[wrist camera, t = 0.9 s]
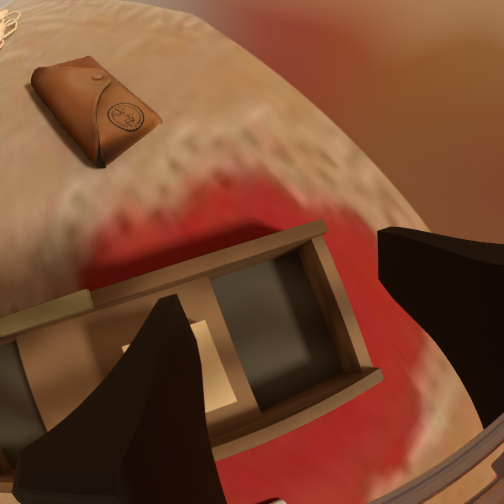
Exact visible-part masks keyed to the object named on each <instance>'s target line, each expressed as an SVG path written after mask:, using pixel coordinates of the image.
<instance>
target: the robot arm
mask: <svg viewBox="0 0 504 504" xmlns="http://www.w3.org/2000/svg"><path fill="white" fill-rule="evenodd" d="M377 235H378V279H379V280H380V282H381V283H382V285H383V286H384V287H385V289H386V290H387V291H388V293H389V294H390V295H391V297H392V298H393V299H394V300H395V301H396V302H397V303H398V304H399V305H400V306H401V307H402V308H403V309H404V310H405V311H406V312H407V313H408V314H409V315H410V316H411V317H412V318H413V319H414V320H415V321H416V322H417V323H418V324H419V325H420V326H421V327H422V328H423V329H424V330H425V331H426V332H427V333H428V334H429V335H430V337H431V338H432V339H433V340H434V341H435V342H436V344H437V345H438V346H439V348H440V349H441V350H442V352H443V353H444V355H445V356H446V357H447V359H448V360H449V362H450V363H451V365H452V366H453V368H454V370H455V371H456V373H457V374H458V376H459V377H460V379H461V381H462V383H463V385H464V386H465V388H466V390H467V392H468V394H469V396H470V398H471V400H472V402H473V404H474V406H475V409H476V411H477V413H478V415H479V418H480V420H481V423H482V426H483V429H484V430H483V431H482V432H481V433H480V434H478V435H477V436H476V437H475V438H473V439H472V440H471V441H470V442H468V443H467V444H466V445H464V446H463V447H462V448H460V449H459V450H458V451H456V452H455V453H454V454H452V455H451V456H449V457H448V458H446V459H445V460H443V461H442V462H441V463H439V464H438V465H436V466H434V467H433V468H431V469H430V470H428V471H427V472H425V473H423V474H422V475H420V476H418V477H417V478H415V479H413V480H412V481H410V482H408V483H406V484H405V485H403V486H401V487H399V488H397V489H395V490H394V491H392V492H390V493H388V494H386V495H384V496H382V497H380V498H378V499H376V500H374V501H371V502H369V503H367V504H423V503H424V502H426V501H427V500H429V499H431V498H432V497H434V496H435V495H437V494H438V493H440V492H441V491H443V490H444V489H446V488H447V487H449V486H450V485H452V484H453V483H454V482H456V481H457V480H459V479H460V478H461V477H463V476H464V475H465V474H467V473H468V472H469V471H471V470H472V469H473V468H474V467H476V466H477V465H478V464H479V463H480V462H482V461H483V460H484V459H485V458H486V457H488V456H489V455H490V454H491V453H492V452H493V451H495V450H496V449H497V448H498V447H499V446H500V445H501V444H502V443H503V442H504V244H495V243H485V242H477V241H470V240H464V239H459V238H453V237H448V236H443V235H439V234H434V233H429V232H424V231H419V230H414V229H409V228H402V227H388V228H385V229H382V230H379V231H377ZM491 467H492V469H493V470H494V471H495V473H496V474H497V477H496V478H495V479H494V480H493V481H492V482H491V483H489V484H488V485H487V486H486V487H485V488H483V489H482V490H481V491H480V492H479V493H477V494H476V495H475V496H473V497H472V498H471V499H470V500H468V501H467V502H466V503H464V504H504V452H503V453H502V454H501V455H500V456H499V457H498V458H497V459H496V460H495V461H494V462H493V463H492V465H491ZM12 494H13V495H14V497H15V498H16V499H17V501H18V502H19V503H21V504H227V502H226V499H225V496H224V493H223V489H222V486H221V483H220V479H219V476H218V472H217V468H216V465H215V461H214V457H213V453H212V448H211V444H210V440H209V435H208V430H207V423H206V413H205V401H204V388H203V375H202V364H201V359H200V354H199V349H198V344H197V339H196V337H195V335H194V333H193V331H192V328H191V326H190V324H189V321H188V319H187V317H186V314H185V312H184V310H183V307H182V305H181V303H180V300H179V298H178V295H177V293H176V294H173V295H169V296H166V297H162V298H159V299H158V301H157V302H156V304H155V305H154V307H153V309H152V310H151V312H150V314H149V315H148V317H147V319H146V320H145V322H144V324H143V325H142V327H141V328H140V330H139V332H138V333H137V335H136V336H135V338H134V339H133V341H132V342H131V344H130V345H129V347H128V348H127V350H126V351H125V353H124V354H123V355H122V357H121V358H120V360H119V361H118V362H117V364H116V365H115V366H114V368H113V369H112V370H111V371H110V373H109V374H108V375H107V376H106V377H105V379H104V380H103V381H102V382H101V383H100V384H99V385H98V387H97V388H96V389H95V390H94V391H93V392H92V393H91V394H90V395H89V396H88V397H87V398H86V399H85V400H84V401H83V402H82V403H81V404H80V405H79V406H78V407H77V408H76V409H75V410H74V411H72V412H71V413H70V414H69V415H68V416H67V417H66V418H64V419H63V420H62V421H61V422H60V423H58V424H57V425H56V426H55V427H53V428H52V429H51V430H49V431H48V432H47V433H45V434H44V435H42V436H41V437H40V438H38V439H37V440H35V441H34V442H32V443H31V444H29V445H28V446H26V447H25V448H23V449H21V450H20V453H19V457H18V462H17V467H16V472H15V477H14V482H13V488H12ZM269 504H286V502H285V501H284V500H282V499H279V500H276V501H274V502H271V503H269Z"/></svg>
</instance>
